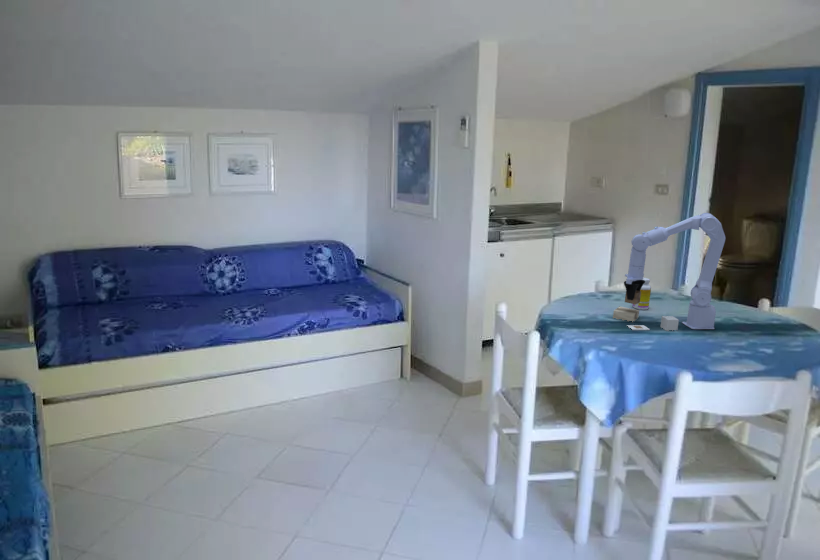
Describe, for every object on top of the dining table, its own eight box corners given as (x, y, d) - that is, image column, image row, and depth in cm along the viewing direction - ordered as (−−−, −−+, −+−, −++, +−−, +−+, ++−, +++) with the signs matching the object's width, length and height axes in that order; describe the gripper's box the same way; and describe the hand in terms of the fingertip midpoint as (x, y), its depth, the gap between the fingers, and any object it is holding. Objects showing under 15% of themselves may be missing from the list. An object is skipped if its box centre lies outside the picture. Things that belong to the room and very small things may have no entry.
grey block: (671, 327, 256) (672, 316, 255) (677, 331, 252) (678, 319, 251) (660, 327, 255) (661, 316, 254) (666, 331, 251) (667, 319, 250)
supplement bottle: (651, 309, 280) (655, 279, 277) (641, 311, 276) (645, 281, 273) (638, 305, 285) (642, 276, 282) (628, 306, 282) (632, 277, 278)
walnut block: (628, 299, 266) (630, 289, 264) (639, 302, 263) (641, 291, 262) (624, 302, 262) (626, 291, 261) (635, 304, 259) (637, 293, 258)
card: (643, 325, 256) (643, 325, 256) (649, 330, 251) (649, 329, 251) (626, 325, 255) (626, 324, 255) (632, 330, 250) (632, 329, 250)
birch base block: (618, 314, 271) (619, 306, 270) (638, 318, 267) (639, 310, 266) (612, 318, 265) (613, 310, 264) (632, 323, 260) (634, 314, 259)
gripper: (633, 260, 267) (628, 293, 270) (620, 266, 256) (615, 299, 259) (650, 263, 263) (646, 296, 266) (638, 269, 251) (633, 303, 255)
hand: (632, 298), depth 262 cm, fingers closed on walnut block, 4 cm apart
